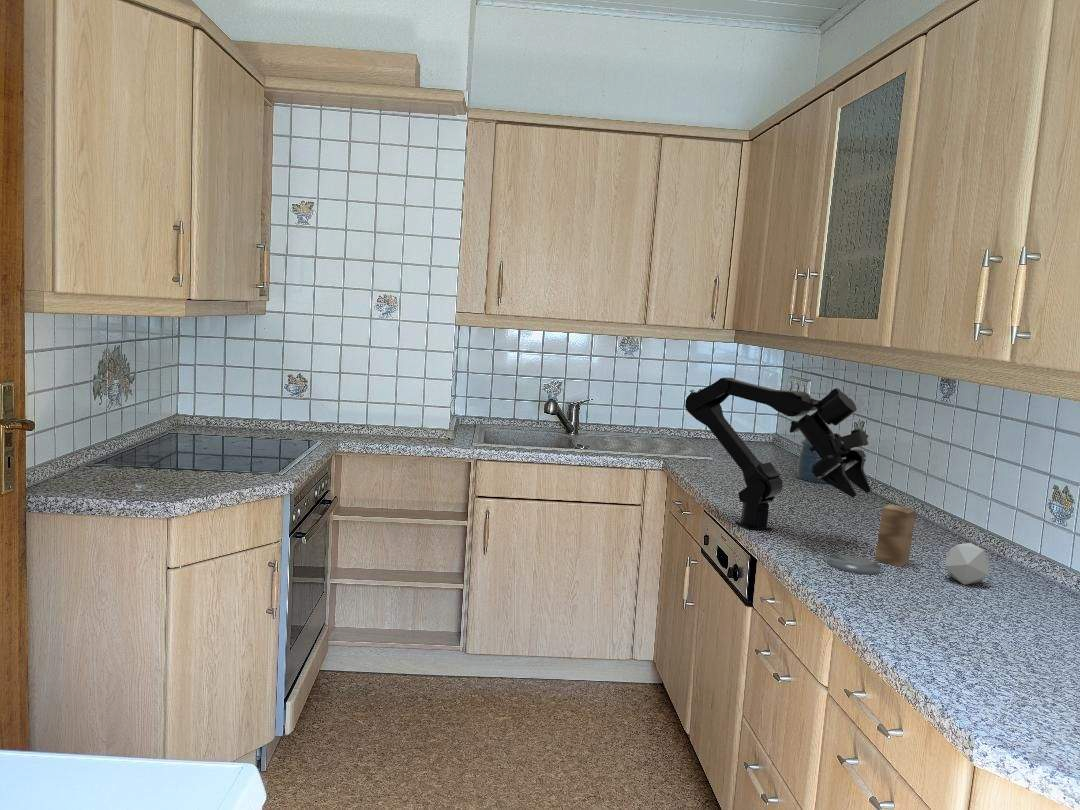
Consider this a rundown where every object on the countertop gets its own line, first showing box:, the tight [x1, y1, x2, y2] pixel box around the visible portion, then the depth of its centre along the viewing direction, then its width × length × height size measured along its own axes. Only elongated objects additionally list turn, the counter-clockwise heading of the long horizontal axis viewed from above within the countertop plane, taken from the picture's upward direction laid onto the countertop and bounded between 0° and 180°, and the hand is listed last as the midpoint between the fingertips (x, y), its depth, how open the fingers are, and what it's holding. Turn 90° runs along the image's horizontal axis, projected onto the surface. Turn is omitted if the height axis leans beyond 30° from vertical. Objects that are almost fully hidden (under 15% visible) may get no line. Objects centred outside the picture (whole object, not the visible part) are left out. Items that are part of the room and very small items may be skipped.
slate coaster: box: [825, 554, 882, 575], centre depth 185 cm, size 11×11×1 cm
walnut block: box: [874, 504, 917, 568], centre depth 191 cm, size 6×6×12 cm
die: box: [944, 542, 991, 586], centre depth 181 cm, size 8×9×10 cm
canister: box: [796, 437, 829, 485], centre depth 285 cm, size 13×13×18 cm
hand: (862, 494), depth 196 cm, fingers open, 9 cm apart
